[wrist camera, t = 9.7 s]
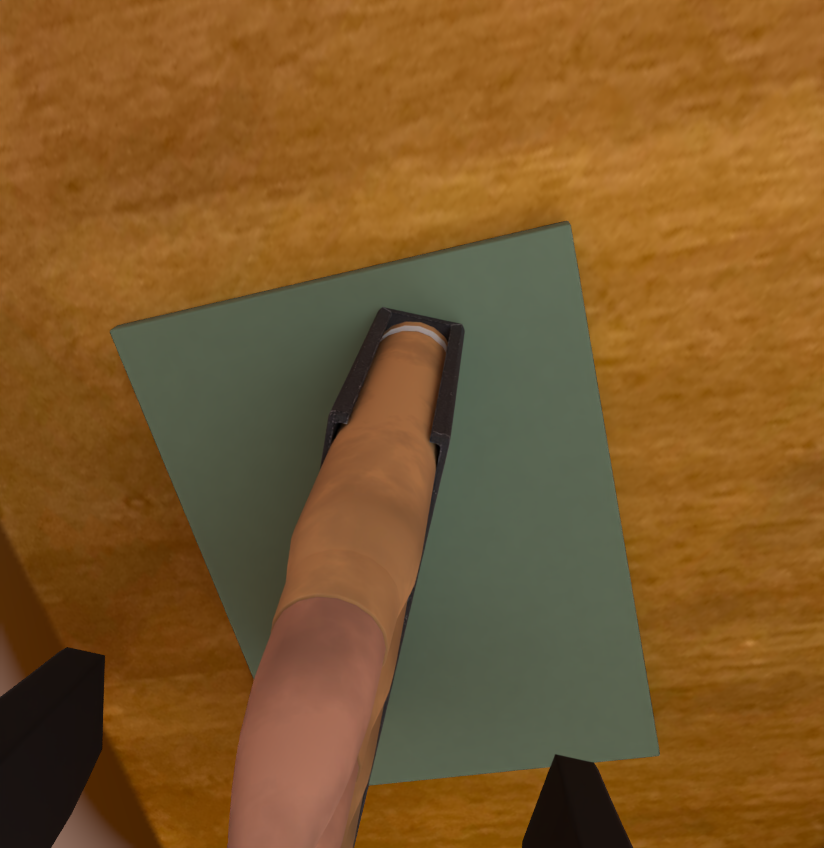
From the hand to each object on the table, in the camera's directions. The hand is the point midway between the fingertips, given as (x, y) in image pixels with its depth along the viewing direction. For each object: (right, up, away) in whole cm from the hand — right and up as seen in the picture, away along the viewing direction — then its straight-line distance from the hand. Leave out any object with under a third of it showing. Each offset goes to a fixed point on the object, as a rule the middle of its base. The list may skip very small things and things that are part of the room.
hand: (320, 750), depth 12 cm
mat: (+1, +2, +7) cm, 7 cm away
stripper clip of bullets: (+1, +3, +6) cm, 7 cm away
